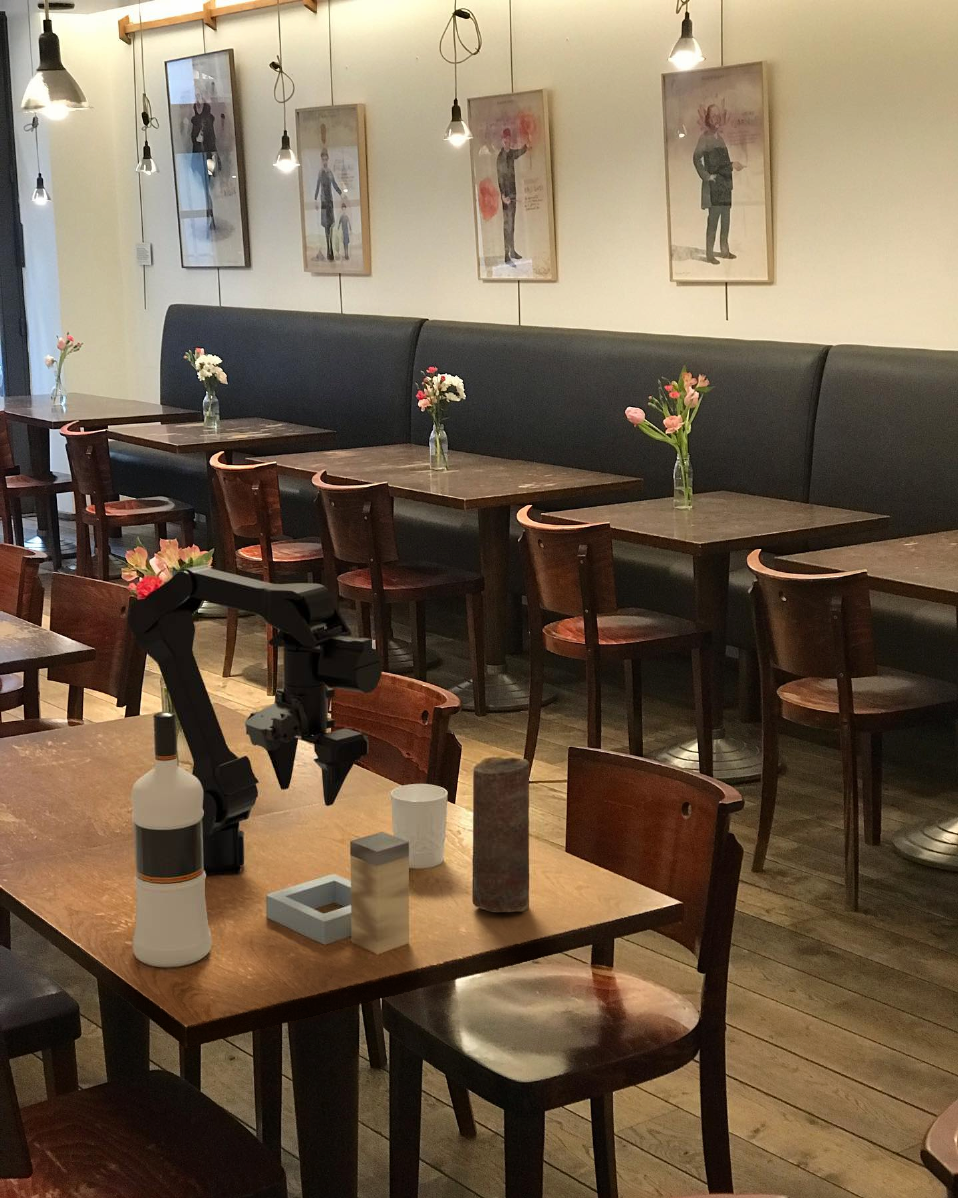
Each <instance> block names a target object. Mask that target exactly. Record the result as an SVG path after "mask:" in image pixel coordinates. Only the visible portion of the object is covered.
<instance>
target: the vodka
mask: <svg viewBox="0 0 958 1198" xmlns="http://www.w3.org/2000/svg"><path fill="white" fill-rule="evenodd" d="M176 716H177V714H176V712H173V711H160V712H159V711H158V712H156V713H154V714H153V716H152V718H153V732H154V733H153V737H154V738H153V739H154V741H153V742H154V767H153V768H152V769H150V770H149V771H147V772H146V773H145V774H143V775H142V776H141V777H139V778H138V779H137V780H136V781H135V782H134V784H133V787H132V789H131V792H130V800H131V807H132V813H131V818H132V821H133V828H134V829H133V831H134V832H133V833H134V854H135V855H134V857H135V859H134V860H135V861H134V862H135V876H134V878H133V882H134V885H135V894H136V902H135V903H136V905H135V925H134V934H133V936H132V951H133V954H134V955H135V958H136V959H137V960H138V961H140V962H142V963H144V964H146V965H148V966H151V967H157V968H162V969H163V968H165V969H166V968H167V969H169V968H178V967H185V966H189V965H191V964H194V963H196V962H198V961H200V960H202V959H203V958H205V957H206V956H207V955H208V953H209V952H210V950H211V947H212V933H211V932H212V931H211V929H210V927H209V922H208V914H207V912H208V911H207V905H206V903H207V902H206V894H205V891H206V890H205V887H206V883H205V881H206V878H207V875H206V873H205V871H204V864H203V830H202V817H203V814H204V810H203V809H202V807H203V788H202V785H201V783H200V781H199V780H198V779H197V777H195V776H194V775H192V773H190V772H189V771H187V770H185V769H184V768H182V767H181V766H179V765H178V746H177V745H178V744H177V732H176V731H177V721H176V720H177V719H176Z"/></svg>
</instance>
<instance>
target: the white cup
mask: <svg viewBox="0 0 958 1198" xmlns="http://www.w3.org/2000/svg"><path fill="white" fill-rule="evenodd" d="M390 801H391V805H390V806H391V819H392V820H391V823H392V833H393V835H392V836H395V837H397V838H400V839H403V840H405V841H408V842H409V869H418V870H420V869H430V868H434V867H437V866H439V865H441V864H442V863H443V861H444V857H445V842H446V829H447V814H448V811H447V810H448V790H447V789H445V788H444V787H441V786H438V785H434V784H430V783H429V784H428V783H413V784H404V785H401V786H397V787H395V788H393V789H392V790H391V791H390Z"/></svg>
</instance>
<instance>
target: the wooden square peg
mask: <svg viewBox="0 0 958 1198" xmlns="http://www.w3.org/2000/svg"><path fill="white" fill-rule="evenodd" d="M349 849H350V853H349V855H350V881H351V936H350V938H351V943H353V944H354V945H357V946H358V947H361V948H363V949H366V950H367V951H370V952H372V953H373V954H376V955H379V954H382V953H385V952H388V951H391V950H394V949H396V948H399V947H402V946H404V945H407V944H410V905H409V904H410V889H409V888H410V877H409V876H410V874H409V873H410V868H409V842H408V841H405V840H403V839H400V838H397V837H395V836H393V835H391V834H390V833H387V832H384V831H380V832H377V833H373V834H370V835H367V836H366V835H365V836H364V837H363V836H362V837H359V838H355V839H354V840H352V839H351V840H349Z"/></svg>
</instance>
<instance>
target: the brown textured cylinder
mask: <svg viewBox="0 0 958 1198" xmlns="http://www.w3.org/2000/svg"><path fill="white" fill-rule="evenodd" d="M472 775H473V776H472V777H473V778H472V780H473V781H472V783H473V785H472V786H473V787H472V791H473V792H472V793H473V794H472V797H473V798H472V808H473V809H472V880H471V881H472V883H471V885H472V891H471V892H472V895H471V896H472V897H471V898H472V899H471V900H472V904H473V905H474V906H475V907H476V908H480V909H483V910H485V911H489V912H492V913H514V912H519V913H520V912H523V911H526V910H529V908H530V763H529V761H528V759H525V758H524V759H523V758H520V757H519V758H518V757H506V758H503V757H502V756H501V757H500V756H496V757H495V756H492V757H490V756H489V757H485V758H483V759H482V760H481V761H480V762H478V763H477V764H475V766H473V771H472Z"/></svg>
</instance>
